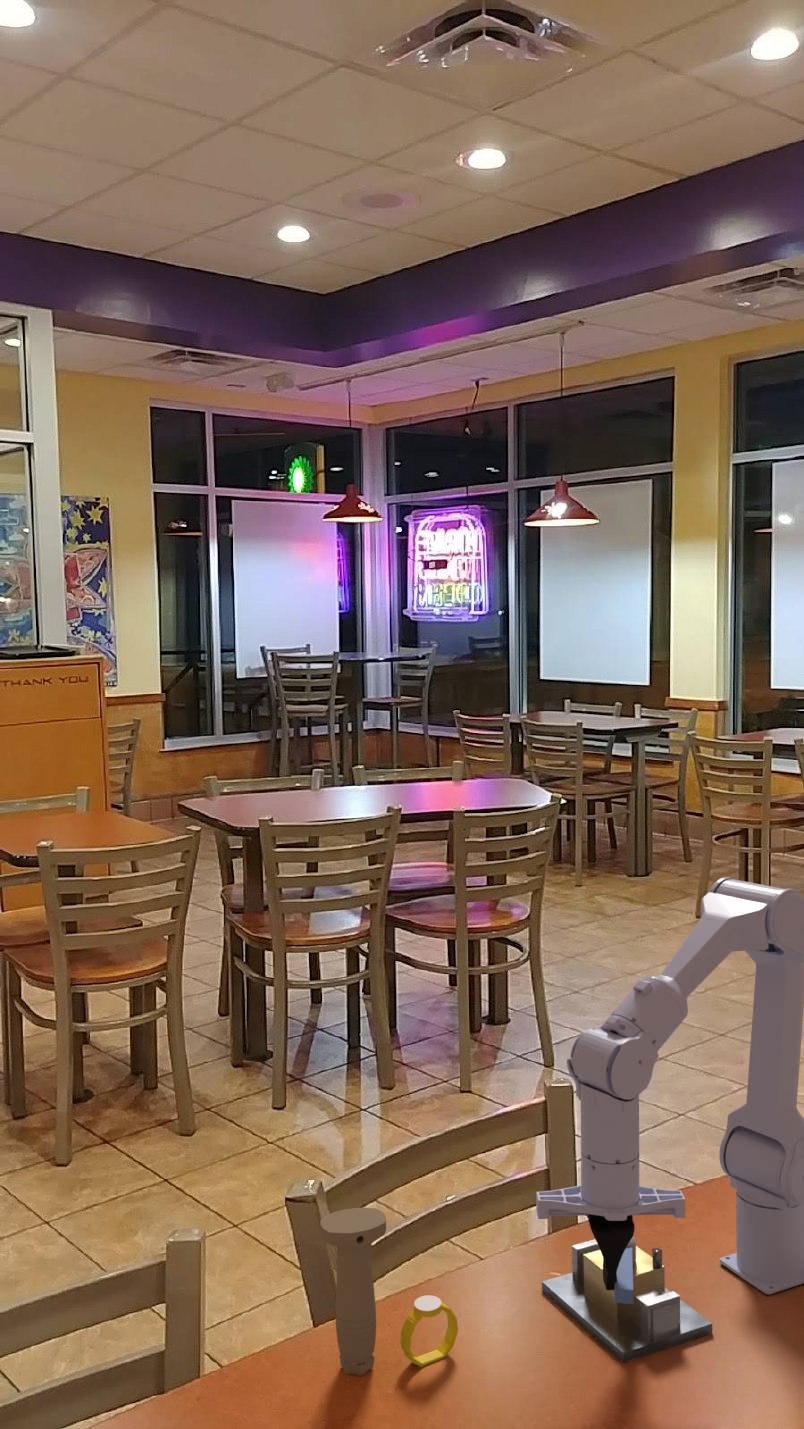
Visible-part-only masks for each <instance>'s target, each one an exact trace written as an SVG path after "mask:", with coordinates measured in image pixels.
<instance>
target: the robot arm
mask: <svg viewBox="0 0 804 1429" xmlns="http://www.w3.org/2000/svg"><path fill="white" fill-rule="evenodd" d="M733 952H745V953H746V954H747V955H748V956H749V958H751V960H752V961H753V962H754V963H755V977H754V989H753V990H754V991H753V1003H752V1004H753V1006H752V1019H751V1034H750V1048H749V1062H748V1072H747V1073H748V1074H747V1075H748V1077H747V1088H746V1089H747V1090H746V1102H745V1103H744V1104H743V1105H740V1106H739V1107H737V1108H734V1110H732V1111H731V1112H729V1113H728V1114H727V1123H726V1129H725V1131H724V1134H723V1137H722V1139H721V1142H720V1145H719V1152H718V1153H719V1155H718V1156H719V1163H720V1167H721V1169H722V1171H723V1173H724V1174H725V1175H727V1176H728V1177H729V1179H730V1188H733V1189H734V1190H735V1221H736V1222H735V1224H736V1225H735V1227H736V1228H735V1229H736V1230H735V1232H736V1235H735V1236H736V1237H735V1238H736V1239H735V1240H736V1242H735V1243H736V1246H735V1247H736V1252H734V1253H731V1254H728V1255H725V1256H721V1257H719V1263H720V1264H721V1265H723V1266H724V1267H726V1268H727V1269H729V1270H730V1271H732V1272H733V1273H734V1274H736V1275H737V1276H739V1277H740V1278H741V1279H743V1280H744V1281H746V1282H748V1284H750V1285H752V1286H753V1287H754V1288H756V1289H758V1290H759V1291H761V1292H762V1293H764V1294H765V1295H772V1294H775V1293H778V1292H781V1291H784V1290H788V1289H790V1288H793V1287H796V1286H799V1285H802V1284H804V1116H803V1115H802V1113H800V1111H799V1109H798V1108H797V1107H798V1106H797V1105H798V1092H799V1079H800V1078H799V1077H800V1065H801V1064H800V1062H801V1053H802V1052H801V1050H802V1036H803V1035H802V1034H803V1021H804V895H803V894H802V892H800V891H799V890H797V889H794V888H782V887H778V886H777V887H776V886H772V885H771V886H770V885H766V884H759V883H756V882H750V881H744V880H739V879H737V878H734V877H729V876H724V877H721V878H719V879H717V880H716V881H715V882H714V883H713V885H712V886H711V887H710V889H709V890H708V892H707V893H706V894H705V895H704V896H702V898H701V901H700V918H699V919H698V922H697V923H696V924H695V925H694V927H693V929H692V930H691V931H690V933H689V934H688V936H687V937H686V938H685V939H684V941H683V942H682V943H681V945H680V947H679V948H678V949H677V951H676V952H675V954H674V955H673V957H672V958H671V959H670V960H669V962H668V964H667V965H666V966H665V968H664V969H663V970H662V972H661V973H660V975H646V976H644V977H642V978H641V979H639V980H638V981H636V983H635V984H634V985H633V986H632V990H631V991H630V992H629V993H628V994H627V995H626V997H625V998H624V999H623V1000H622V1001H621V1002H620V1004H618V1006H617V1007H616V1008H615V1009H614V1010H613V1011H612V1013H611V1014H610V1015H609V1016H608V1017H607V1018H606V1019H605V1021H604V1022H603V1023H602V1024H601V1026H600V1027H599V1026H598V1027H593V1029H591V1028H590V1029H588V1030H586V1031H584V1032H582V1033H581V1034H579V1035H578V1037H577V1038H576V1039H575V1041H574V1043H573V1045H572V1048H571V1051H570V1056H569V1057H568V1058H567V1059H566V1064H567V1065H566V1066H567V1070H568V1073H569V1075H570V1077H571V1078H572V1080H573V1081H574V1082H575V1088H576V1090H575V1091H576V1094H575V1096H576V1097H578V1100H579V1101H580V1185H576V1186H570V1187H565V1188H559V1189H555V1190H554V1189H553V1190H545V1191H536V1192H535V1193H536V1194H535V1196H536V1197H535V1198H536V1199H535V1200H536V1202H535V1205H536V1206H535V1208H536V1209H535V1210H536V1214H537V1219H538V1220H548V1219H549V1218H550V1217H553V1216H554V1217H563V1216H564V1217H568V1216H569V1217H570V1216H577V1217H578V1216H583V1217H585V1216H587V1220H588V1224H589V1227H590V1230H591V1232H592V1235H593V1237H594V1239H596V1241H597V1243H598V1246H599V1248H600V1250H601V1253H602V1256H603V1281H604V1284H605V1287H606V1290H614V1282H617V1273H616V1272H617V1269H618V1266H619V1263H620V1260H621V1257H622V1255H623V1253H624V1251H625V1249H626V1247H627V1245H628V1243H629V1242H630V1240H631V1239H632V1237H634V1233H635V1223H634V1219H633V1218H634V1216H658V1215H659V1216H662V1215H663V1216H669V1215H672V1216H673V1217H674V1218H675V1219H676V1218H677V1219H685V1218H686V1198H685V1195H684V1194H683V1191H682V1190H681V1189H679V1190H678V1189H666V1188H665V1189H663V1188H655V1187H650V1186H643V1185H640V1094H642V1093H643V1092H644V1091H646V1089H648V1086H649V1084H650V1082H651V1079H652V1077H653V1076H652V1075H653V1071H654V1068H655V1064H656V1063H657V1062H658V1057H659V1056H660V1055H659V1050H661V1048H662V1047H663V1046H664V1045H665V1043H666V1042H667V1041H668V1040H669V1039H670V1037H671V1036H672V1035H673V1034H674V1032H675V1031H676V1030H677V1029H678V1028H679V1026H681V1024H682V1023H683V1021H684V1020H686V1018H687V1017H688V1014H689V1008H688V1007H689V1005H688V997H689V996H690V995H691V994H692V993H693V992H694V991H695V990H696V989H697V988H698V987H699V986H700V985H701V984H702V983H703V982H704V981H705V979H707V977H708V976H710V975H711V973H713V972H714V971H715V970H716V968H717V967H718V966H719V965H721V964H722V963H723V961H725V959H727V957H728V956H730V954H732V953H733Z"/></svg>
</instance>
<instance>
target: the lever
mask: <svg viewBox="0 0 804 1429" xmlns="http://www.w3.org/2000/svg"><path fill="white" fill-rule="evenodd" d="M636 1246H637V1240H636V1237H635V1236H633V1237H632V1239H631V1240H630V1242H629V1243H628V1245H627V1247H626V1249H625V1251H624V1253H623V1255H622V1257H621V1260H620V1263H619V1266H618V1269H617V1272H616V1273H617V1282H614V1295H615V1303H627V1304H633V1262H635V1261H636Z"/></svg>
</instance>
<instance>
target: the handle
mask: <svg viewBox="0 0 804 1429" xmlns="http://www.w3.org/2000/svg"><path fill="white" fill-rule="evenodd" d="M319 1223H320V1225H319V1226H320V1235H321V1238H322V1239H323V1240H324V1242H326V1243H327V1244H329V1245H332V1246H335V1248H336V1287H335V1288H336V1290H335V1330H336V1331H335V1332H336V1338H337V1339H336V1340H337V1341H336V1342H337V1346H338V1351H339V1361H340V1366H341V1368H343V1372H344V1373H345V1374H346V1375H356V1376H357V1377H359V1376H360V1377H361V1376H364V1375H365V1373H367V1372H369V1371H370V1370H373V1368H374V1364H375V1355H374V1352H375V1346H376V1338H377V1337H376V1336H377V1304H376V1296H375V1295H376V1294H375V1283H374V1274H373V1272H374V1271H373V1261H372V1260H373V1258H372V1257H373V1256H372V1244H373V1242H375V1241H377V1240H379V1239H380V1238H381V1237H384V1235H385V1234H386V1232H387V1216H386V1214H385V1213H384V1212H383V1211H382V1210H380V1209H378V1208H375V1207H352V1208H345V1209H341V1210H337V1211H334V1212H332V1213H329V1214H326V1215H324V1216H322V1217H321V1219H320V1222H319Z"/></svg>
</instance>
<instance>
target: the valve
mask: <svg viewBox="0 0 804 1429" xmlns="http://www.w3.org/2000/svg"><path fill="white" fill-rule="evenodd" d="M651 1252H652V1253H651V1254H652V1255H649V1254H648V1253H647V1252H645V1251H644V1250H642V1249H641V1248H639V1247H638V1246H637V1245H636V1261H635V1262H633V1304H627V1303H615V1295H614V1290H606V1287H605V1284H604V1281H603V1256H602V1253H601V1250H600V1248H599V1246H598V1243H597V1241H596V1239H595V1238H594V1239H591V1240H587V1241H584V1242H581V1243H577V1244H573V1245H571V1265H572V1266H571V1267H572V1269H571V1270H572V1271H571V1272H569V1273H566V1274H562V1275H559V1276H557V1277H552V1278H548V1279H545V1280H542V1281H541V1290H542V1292H543V1293H544V1294H546V1295H547V1297H549V1298H550V1299H551V1300H552V1301H554V1303H556V1304H557V1305H558V1306H559V1307H560V1308H561V1309H562V1310H564V1311H565V1313H567V1314H568V1315H569V1316H570V1317H571V1318H573V1319H574V1321H576V1322H577V1323H578V1324H579V1326H581V1327H582V1328H584V1329H585V1331H587V1332H588V1333H589V1334H590V1335H591V1336H592V1337H594V1338H595V1339H596V1341H598V1342H599V1343H600V1344H601V1345H603V1346H604V1347H605V1348H606V1349H607V1350H609V1351H610V1353H611V1354H613V1355H614V1356H615V1357H616V1358H617V1359H619V1361H621V1363H623V1364H624V1363H628V1362H631V1361H634V1360H637V1359H640V1358H643V1357H645V1356H648V1355H652V1354H654V1353H657V1352H660V1351H662V1350H666V1349H669V1348H671V1347H675V1346H678V1345H681V1344H683V1343H687V1342H690V1341H693V1340H696V1339H698V1338H701V1337H704V1336H707V1335H710V1334H713V1323H712V1322H711V1321H710V1320H708V1318H706V1317H704V1316H703V1315H702V1314H700V1313H699V1312H698V1311H697V1310H695V1309H694V1308H693V1307H691V1305H688V1304H687V1303H686V1302H685V1301H683V1300H682V1299H681V1295H680V1294H678V1293H677V1292H675V1291H674V1290H672V1291H670V1290H669V1289H668V1288H666V1287H665V1284H666V1283H665V1277H666V1276H665V1265H663V1250H662V1249H661V1248H659V1247H654V1248H652V1251H651Z"/></svg>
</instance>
